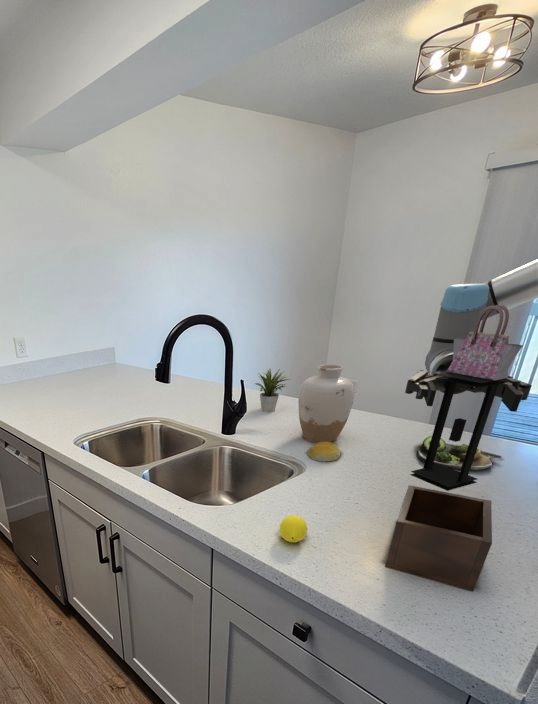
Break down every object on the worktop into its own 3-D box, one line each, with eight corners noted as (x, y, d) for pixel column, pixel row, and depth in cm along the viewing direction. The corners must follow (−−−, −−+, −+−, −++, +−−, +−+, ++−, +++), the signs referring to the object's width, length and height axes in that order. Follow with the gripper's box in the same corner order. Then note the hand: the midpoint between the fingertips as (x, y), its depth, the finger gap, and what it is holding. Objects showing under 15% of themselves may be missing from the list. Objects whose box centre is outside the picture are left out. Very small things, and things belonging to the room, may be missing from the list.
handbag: (403, 472, 85) (446, 305, 71) (431, 464, 87) (478, 301, 73) (456, 494, 76) (517, 309, 62) (485, 486, 78) (551, 305, 64)
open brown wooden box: (475, 545, 85) (491, 500, 81) (473, 591, 74) (492, 543, 69) (397, 526, 93) (408, 485, 88) (384, 566, 81) (396, 521, 76)
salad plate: (493, 451, 124) (498, 436, 122) (508, 477, 110) (514, 460, 108) (414, 444, 132) (418, 429, 130) (418, 466, 118) (422, 451, 116)
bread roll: (305, 459, 126) (306, 446, 125) (313, 449, 133) (315, 437, 131) (335, 464, 122) (337, 451, 120) (342, 454, 128) (344, 441, 127)
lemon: (279, 529, 94) (282, 507, 92) (306, 533, 92) (309, 511, 90) (276, 547, 89) (279, 524, 86) (304, 551, 87) (308, 528, 84)
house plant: (275, 418, 161) (280, 374, 153) (242, 412, 169) (245, 370, 162) (292, 409, 170) (297, 366, 162) (260, 404, 178) (263, 363, 171)
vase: (284, 439, 142) (292, 368, 131) (308, 426, 151) (318, 359, 141) (332, 450, 131) (344, 374, 121) (355, 436, 140) (368, 364, 130)
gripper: (518, 393, 85) (555, 429, 68) (385, 387, 95) (387, 417, 77) (532, 354, 82) (575, 381, 64) (392, 351, 91) (396, 374, 74)
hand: (472, 400), depth 71 cm, fingers closed on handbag, 11 cm apart
